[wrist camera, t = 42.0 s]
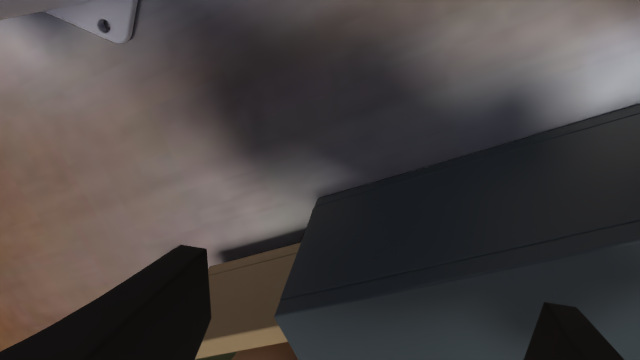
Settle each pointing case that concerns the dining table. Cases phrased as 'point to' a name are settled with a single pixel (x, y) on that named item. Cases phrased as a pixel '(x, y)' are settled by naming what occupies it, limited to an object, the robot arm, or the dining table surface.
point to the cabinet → (475, 252)
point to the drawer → (246, 303)
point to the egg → (267, 353)
